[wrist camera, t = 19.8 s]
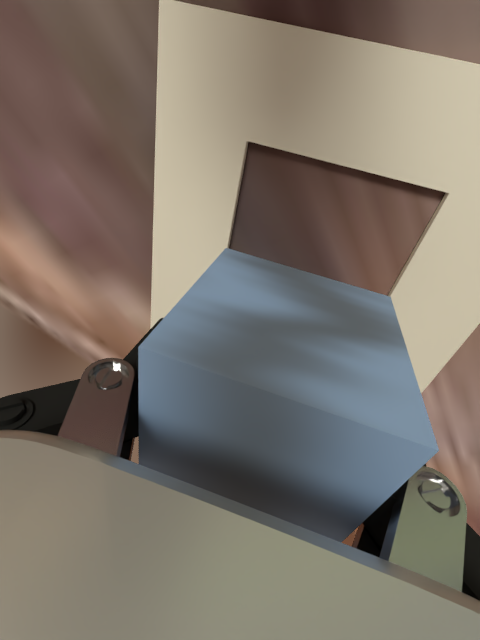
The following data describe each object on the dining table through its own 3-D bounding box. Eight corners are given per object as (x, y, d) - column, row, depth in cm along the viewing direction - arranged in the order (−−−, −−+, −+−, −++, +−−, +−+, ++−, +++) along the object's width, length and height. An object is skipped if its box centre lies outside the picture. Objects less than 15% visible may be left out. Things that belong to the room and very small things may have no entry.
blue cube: (390, 296, 10) (438, 450, 5) (327, 406, 14) (322, 559, 9) (225, 247, 11) (138, 346, 6) (205, 364, 14) (138, 486, 10)
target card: (652, 103, 10) (662, 102, 10) (379, 438, 22) (380, 443, 21) (164, 0, 12) (159, -3, 12) (152, 357, 24) (149, 360, 23)
